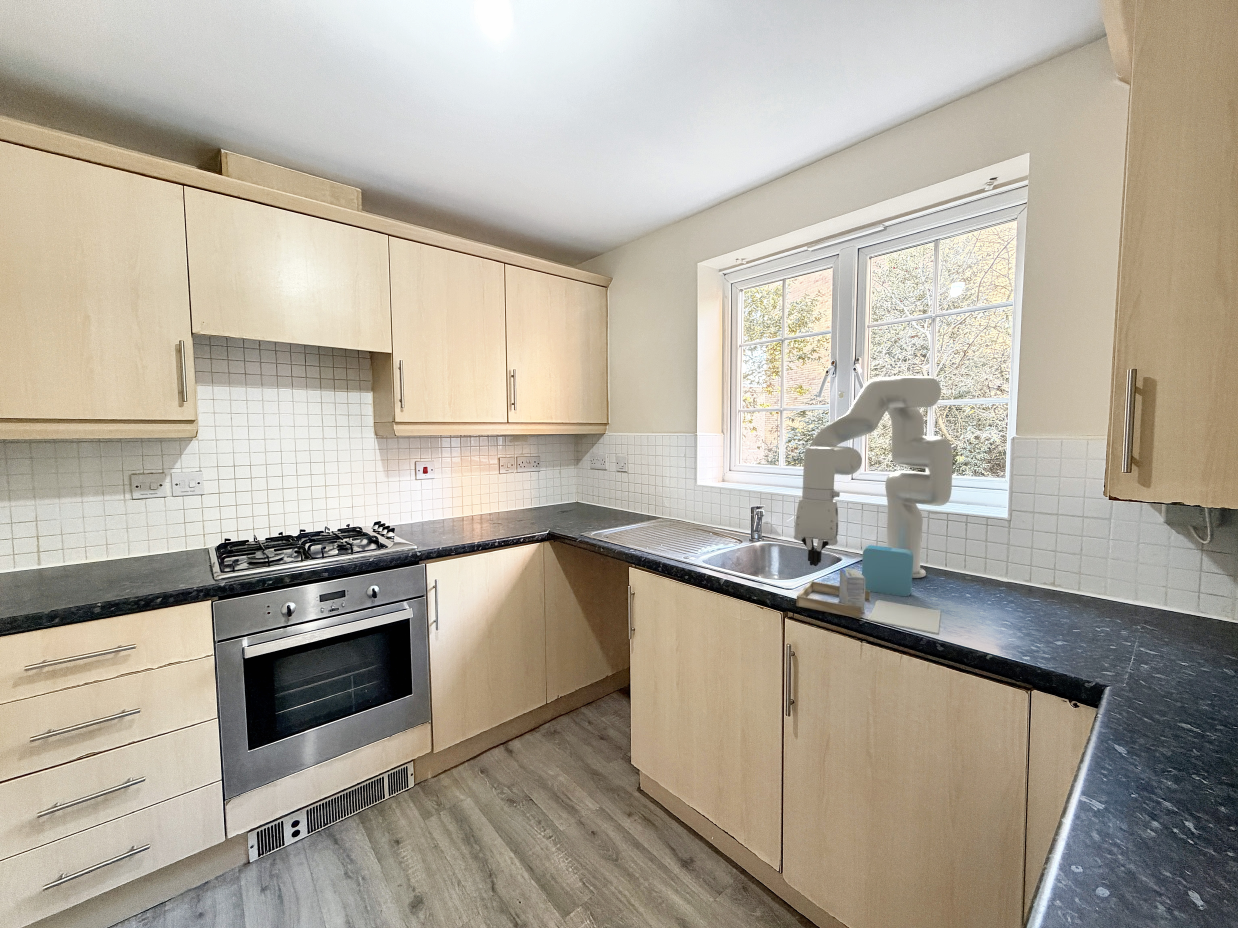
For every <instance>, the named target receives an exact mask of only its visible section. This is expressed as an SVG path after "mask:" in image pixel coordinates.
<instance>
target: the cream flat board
mask: <svg viewBox="0 0 1238 928" xmlns="http://www.w3.org/2000/svg"><path fill="white" fill-rule="evenodd" d="M867 620H868V622H869V621H870V622H874V623H880V624H884V625H890V626H894V627H900V628H905V629H909V630H915V631H920V632H924V633H925V632H926V633H929V634H930V633H931V634H936V635H939V631H940V620H941V610H937V609H932V608H926V607H925V608H924V607H920V606H915V605H908V604H903V603H897V602H893V601H892V602H891V601H886V600H882V599H881V600H880V599H877V600H876V602H875V604H874V606H873V608H872V611H871V612H870V615H869V617H868V619H867Z"/></svg>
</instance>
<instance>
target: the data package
mask: <svg viewBox="0 0 1238 928" xmlns="http://www.w3.org/2000/svg"><path fill="white" fill-rule="evenodd" d="M913 558H914V556H913V553H912V552H911V551H910V550H906V549H898V548H890V547H886V546H881V545H872V544H871V545H867V546H866V547H865V548H864V549H863V551H862V561H861V562H862V565H861V574H862V575H863V576H864V577H865V590H868V591H870V592H873V593H879V594H886V595H891V596H897V597H909V596H910V595H911V594H912V593H911V592H912V589H913V578H912V576H913Z"/></svg>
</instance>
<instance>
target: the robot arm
mask: <svg viewBox="0 0 1238 928" xmlns="http://www.w3.org/2000/svg"><path fill="white" fill-rule="evenodd" d="M941 393H942V387H941V385H940V382H939V381H938V380H937V379H936V378H934V377H932V376H910V375H909V376H906V375H905V376H903V375H902V376H888V377H887V376H886V377H877V378H872V379H870V380H868V381H867V382H865V384H864V385H863V387H862V388H861V390H860V392H859V393H858V395H857V397H856V398H855V399H854V401H853V403H852V405H851V406H850V407H849V409H848V411H847V412H846V413H845V414H844V415H843V416H840V417H838V418H837V419H836V420H834V421H832V422H831V423H829V424H828V425H826V426H825V427H823V428H822V429H821V430H820V431H818V432H817V433H816V435H815V436H814V438H813V439H812V441H811V442H810V444H809V446H808V447H806V449H804V456H803V470H802V471H803V476H802V491H801V492H802V495H801V496H802V497H801V498H799V501H798V503H797V508H796V515H795V521H794V535H793V539H794V541H795V540H796V541H798V542H800V543H802V544H803V545H804V546H805V547H806V549H807V550H808V553H807V561H808V562H809V565H810V566H813V567H817V566H819V564H820V563H822V552H823V551H822V550H823V549H825V548H826V547H827V546H837V545H838V544H839V541H838V535H839V508H838V503H837V500H834V499H835V498H840V496H841V494H840V493H841V492H839V491H836V489H835V488H834V487H835V475H838V476H851V475H854V474H856V473H857V472H858V471H859V470H860V469H861V466H862V465H863V464H862V463H863V457H862V455H861V453H860V452H859V451H858V450H857V449H856V448H854V447H850V446H843V445H841V444H843V443H845V442H848V441H851V440H855V439H857V438H861V437H865V436H866V435H869V434H871V433H873V432H874V431H875V430H876V429H877V427H878V426H879V424H880V422H881V421H882V419H883V417H884V416H885V414H886V412H887V414H888V415H889V418H890V421H891V459H892V461H893V463H894V464H895V465H897V466H899V467H907V468H918V469H928V472H921V471H913V470H912V471H911V470H897V471H894V472H891V473H890V474H889V475H888V476H887V477H886V479H885V483H884V485H885V494H886V501H887V516H886V517H887V519H886V520H887V522H886V524H887V525H886V539H885V541H886V542H885V547H890V548H898V549H906V550H910V551H911V552H912V553H913V556H914V558H913V576H912V579H920V578H924V577H926V573H927V572H926V571H925V570H924V569H923V568H921V558H922V538H923V522H924V521H923V515H922V512H921V510H920V508H919V507H918V505H925V506H932V507H933V506H934V507H941V506H945V505H947V504H948V503H949V501H950V498H951V495H952V488H953V457H954V456H953V455H954V454H953V448H952V445H951V442H950V441H949V440H948V439H947V438H946V437H943V436H937V435H935V436H934V435H925V419H924V416H923V414H922V413H921V411H920V408H930V407H931V408H932V407H933V406H935V405H936V404H937V403H938V401H939V400H940V398H941V395H942V394H941ZM918 408H919V409H918ZM840 445H841V446H840ZM917 504H918V505H917ZM814 539H815V540H817V543H816V547H815V544H814Z"/></svg>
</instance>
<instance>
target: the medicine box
mask: <svg viewBox="0 0 1238 928" xmlns="http://www.w3.org/2000/svg"><path fill="white" fill-rule="evenodd" d="M839 586H840V587H839V595H838V599H839V600H838V601H839V603H841V604H846V605H851V606H857V607H862V608H861V613H864V612H865V609H866V608H865V607H866V605H865V604H866V603H865V602H866V600H865V577H864V576H863V575H862V572H860V571H859V569H854V568H840V569H839Z"/></svg>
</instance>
